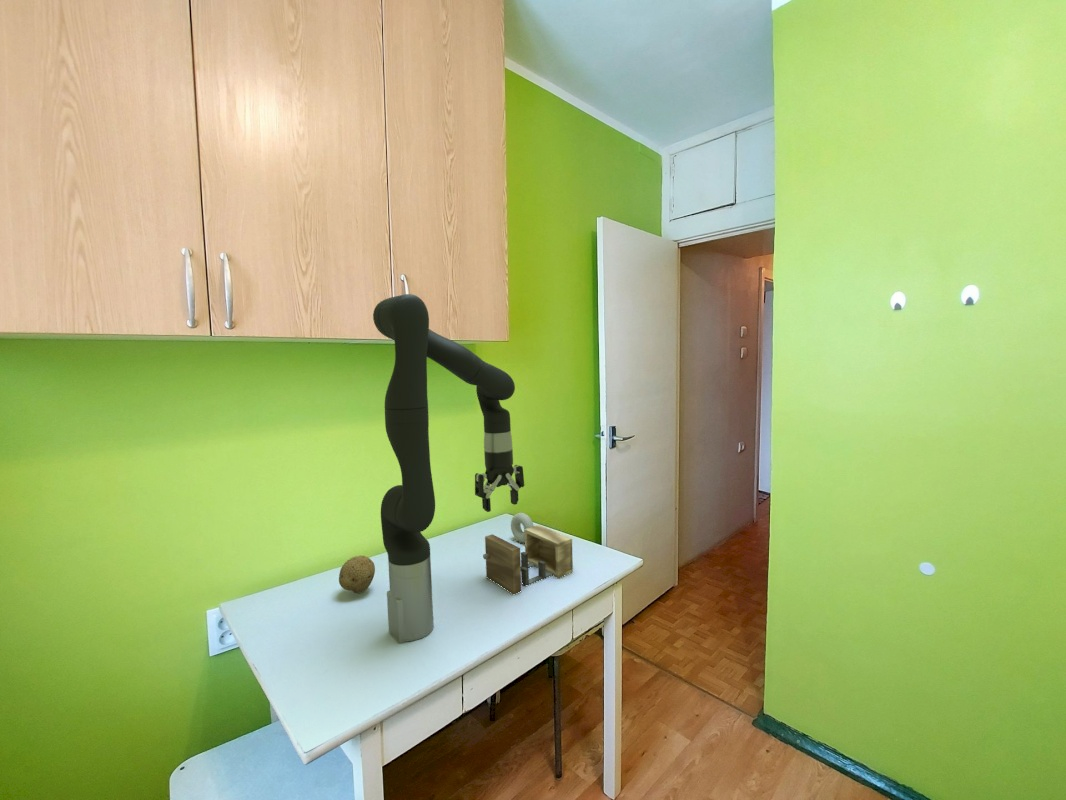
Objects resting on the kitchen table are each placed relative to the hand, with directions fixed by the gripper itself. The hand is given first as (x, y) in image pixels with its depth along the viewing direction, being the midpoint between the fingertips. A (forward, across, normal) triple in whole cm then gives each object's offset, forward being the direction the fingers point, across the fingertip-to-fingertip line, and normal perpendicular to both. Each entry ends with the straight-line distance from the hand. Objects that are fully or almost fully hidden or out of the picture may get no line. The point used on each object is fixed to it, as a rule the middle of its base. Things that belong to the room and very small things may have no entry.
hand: (501, 507), depth 124 cm
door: (+22, 0, 0) cm, 22 cm away
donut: (+22, +21, +21) cm, 37 cm away
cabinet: (+22, +11, 0) cm, 25 cm away
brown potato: (+21, -33, +21) cm, 45 cm away
